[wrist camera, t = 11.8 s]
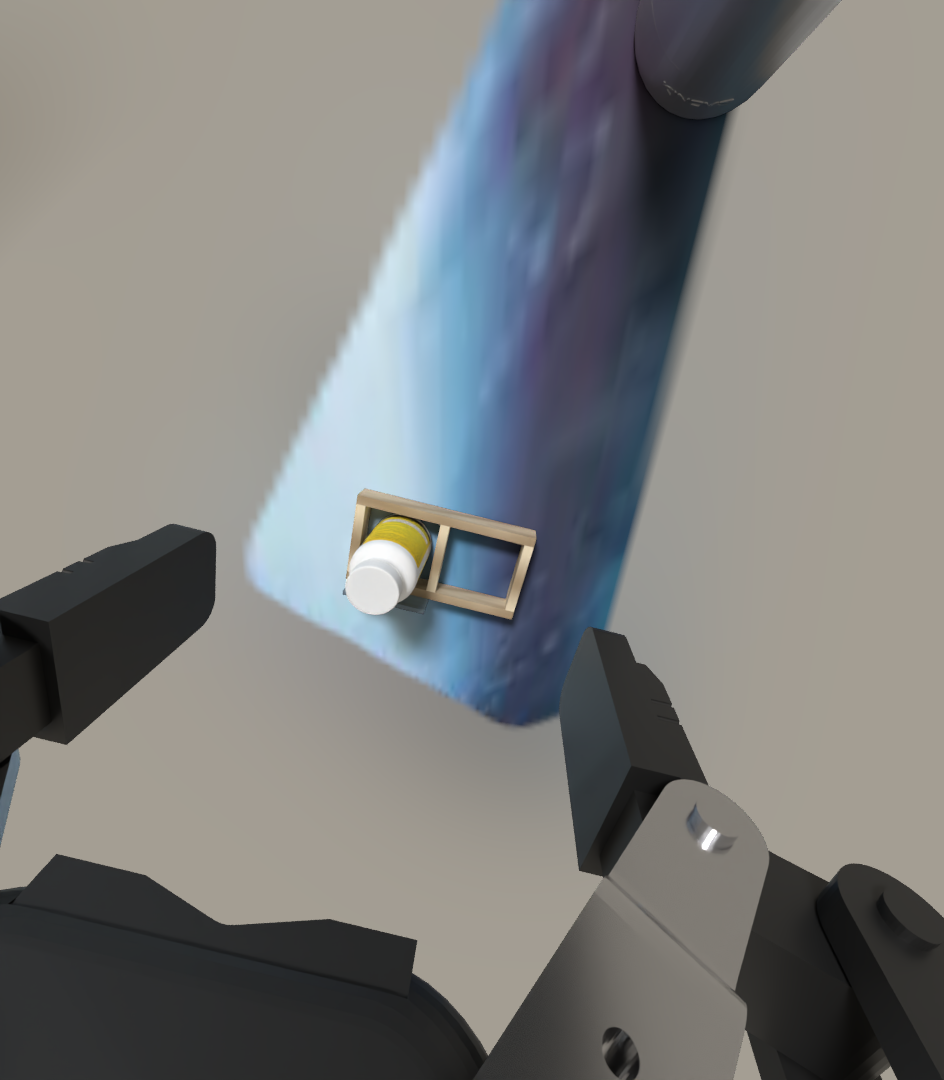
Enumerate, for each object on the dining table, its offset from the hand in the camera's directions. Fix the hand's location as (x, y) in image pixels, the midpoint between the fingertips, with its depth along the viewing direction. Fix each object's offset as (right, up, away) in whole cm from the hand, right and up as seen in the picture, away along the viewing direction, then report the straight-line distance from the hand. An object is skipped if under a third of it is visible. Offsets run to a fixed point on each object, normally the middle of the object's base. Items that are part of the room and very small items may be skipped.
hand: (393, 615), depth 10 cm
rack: (-1, +1, +32) cm, 32 cm away
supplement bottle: (-5, +2, +33) cm, 33 cm away
